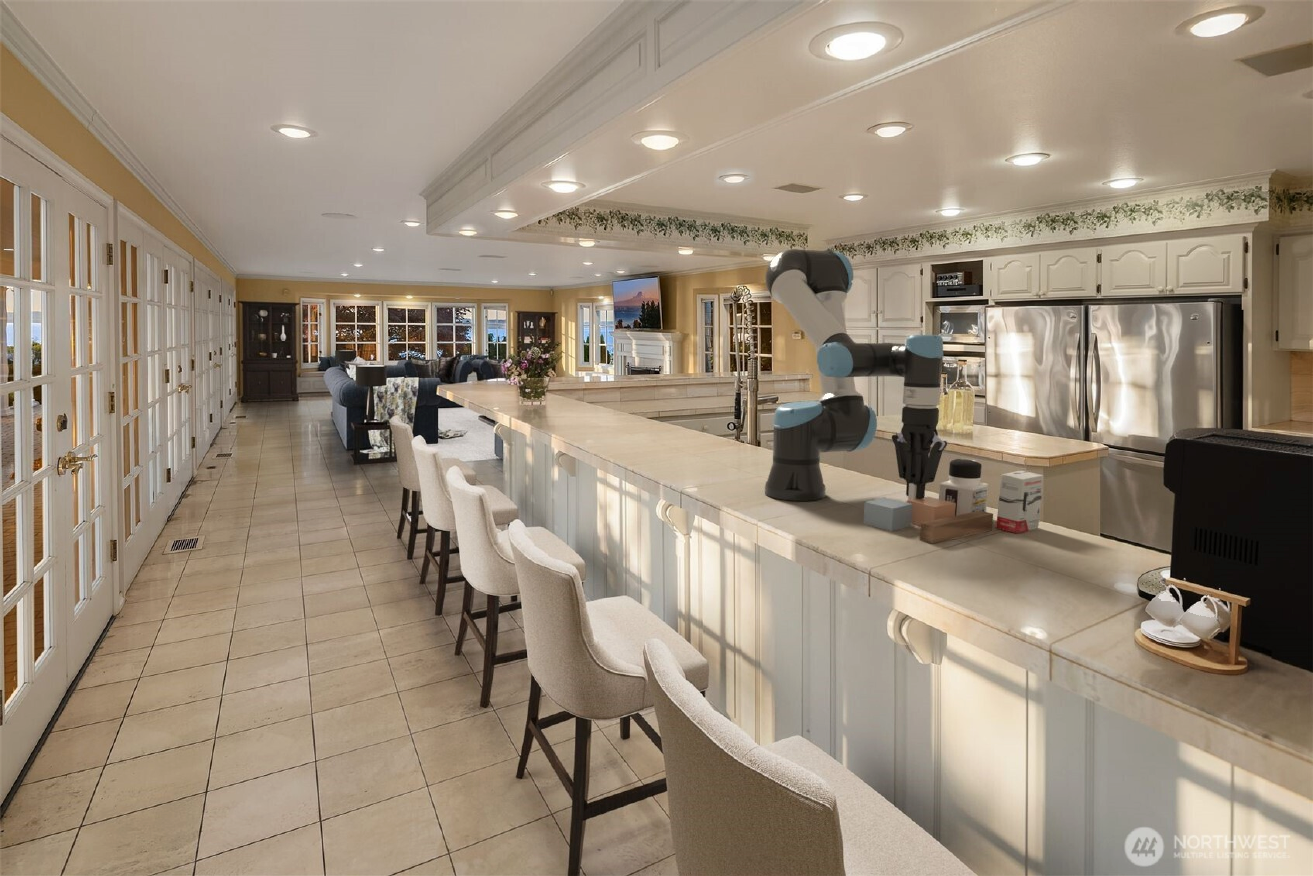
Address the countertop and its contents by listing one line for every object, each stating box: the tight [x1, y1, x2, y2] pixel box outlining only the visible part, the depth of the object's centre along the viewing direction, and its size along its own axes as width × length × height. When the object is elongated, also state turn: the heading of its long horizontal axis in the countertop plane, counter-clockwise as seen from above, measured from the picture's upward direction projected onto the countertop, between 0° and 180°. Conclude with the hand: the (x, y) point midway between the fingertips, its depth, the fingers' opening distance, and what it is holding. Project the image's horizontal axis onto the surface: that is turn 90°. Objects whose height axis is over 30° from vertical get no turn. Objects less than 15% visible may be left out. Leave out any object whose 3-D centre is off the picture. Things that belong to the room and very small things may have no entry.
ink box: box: [995, 470, 1045, 534], centre depth 149 cm, size 8×5×12 cm, turn 123°
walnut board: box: [919, 511, 994, 545], centre depth 144 cm, size 3×20×4 cm, turn 122°
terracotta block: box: [906, 496, 956, 527], centre depth 153 cm, size 7×7×5 cm
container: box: [938, 458, 989, 516], centre depth 158 cm, size 8×8×13 cm
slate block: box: [863, 497, 912, 532], centre depth 152 cm, size 7×7×5 cm
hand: (914, 511), depth 156 cm, fingers closed
